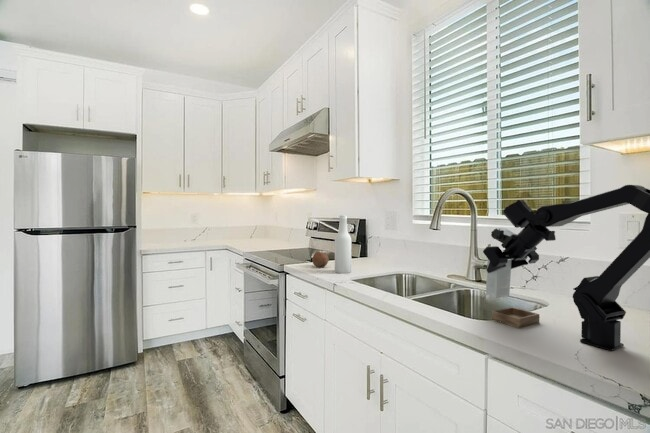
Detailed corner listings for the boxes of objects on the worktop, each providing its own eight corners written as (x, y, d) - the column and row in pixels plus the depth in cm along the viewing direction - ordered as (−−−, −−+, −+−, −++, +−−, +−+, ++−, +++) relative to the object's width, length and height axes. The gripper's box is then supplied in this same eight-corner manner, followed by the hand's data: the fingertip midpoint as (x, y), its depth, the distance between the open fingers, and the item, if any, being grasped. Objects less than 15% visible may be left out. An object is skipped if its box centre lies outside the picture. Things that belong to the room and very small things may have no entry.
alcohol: (331, 271, 177) (331, 215, 177) (343, 270, 182) (344, 215, 182) (342, 274, 170) (342, 215, 170) (354, 272, 176) (355, 215, 175)
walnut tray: (539, 322, 97) (539, 314, 97) (519, 328, 92) (519, 319, 92) (512, 314, 104) (512, 306, 104) (491, 319, 100) (492, 311, 100)
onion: (314, 271, 194) (307, 256, 196) (328, 266, 198) (321, 250, 200) (318, 268, 185) (312, 251, 187) (333, 262, 189) (326, 246, 191)
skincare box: (497, 292, 111) (500, 257, 110) (509, 296, 107) (512, 259, 106) (484, 294, 108) (487, 258, 107) (496, 298, 104) (498, 260, 104)
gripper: (529, 219, 107) (499, 250, 117) (488, 219, 100) (459, 253, 110) (555, 246, 100) (520, 276, 110) (512, 248, 92) (479, 281, 103)
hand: (494, 271), depth 108 cm, fingers closed on skincare box, 6 cm apart
